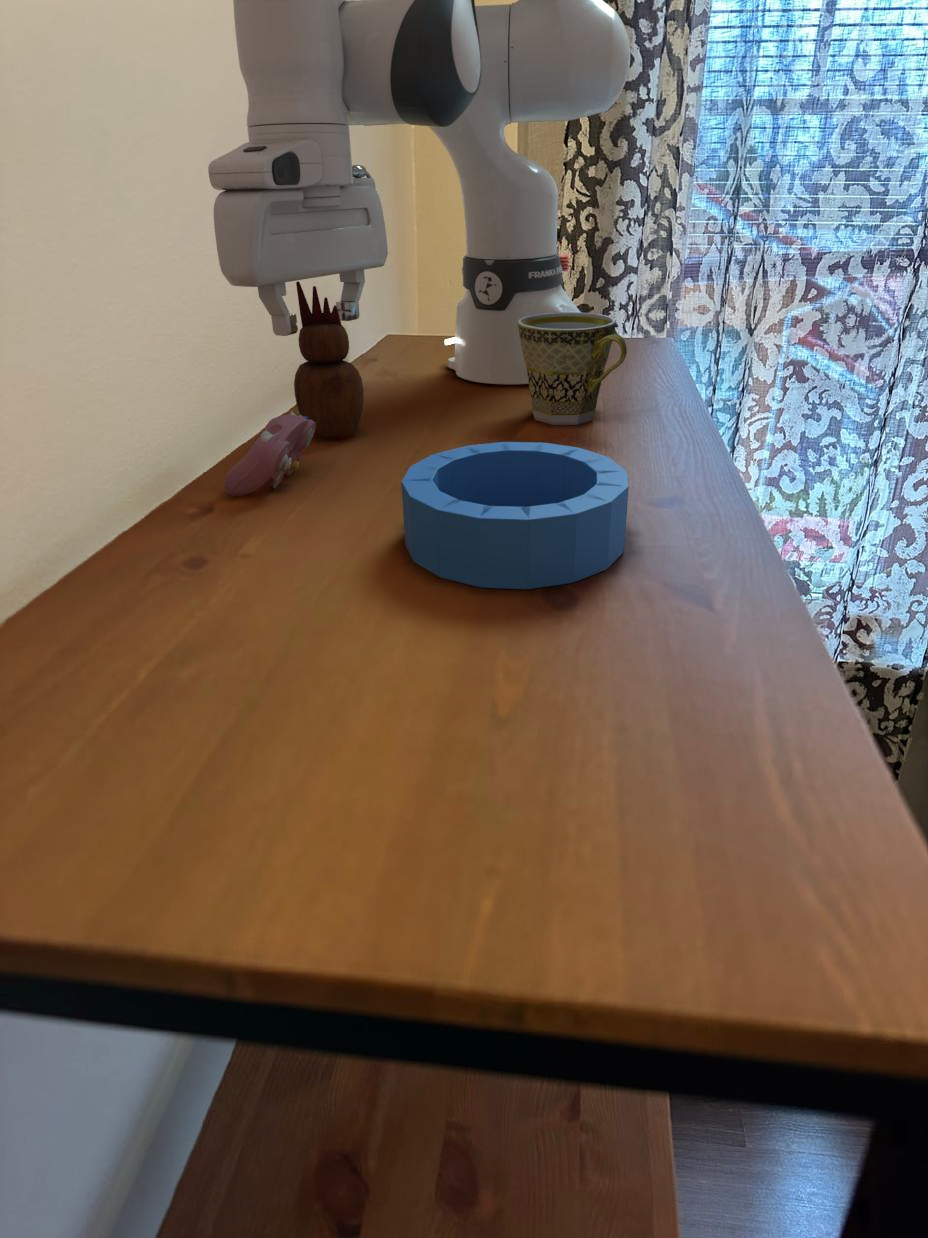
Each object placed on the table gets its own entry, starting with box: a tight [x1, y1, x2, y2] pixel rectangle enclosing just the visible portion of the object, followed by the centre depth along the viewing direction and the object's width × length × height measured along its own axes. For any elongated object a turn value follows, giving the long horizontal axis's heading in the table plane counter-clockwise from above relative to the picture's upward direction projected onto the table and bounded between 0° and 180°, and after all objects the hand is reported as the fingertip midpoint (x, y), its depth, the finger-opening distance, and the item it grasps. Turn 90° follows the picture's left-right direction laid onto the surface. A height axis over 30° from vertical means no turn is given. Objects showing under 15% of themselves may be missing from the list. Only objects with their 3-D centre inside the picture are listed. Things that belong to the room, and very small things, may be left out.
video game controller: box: [223, 411, 316, 497], centre depth 73 cm, size 10×5×7 cm, turn 168°
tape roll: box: [400, 441, 630, 590], centre depth 61 cm, size 16×16×5 cm
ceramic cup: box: [518, 311, 628, 426], centre depth 87 cm, size 13×10×10 cm
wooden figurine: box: [293, 280, 365, 441], centre depth 82 cm, size 7×6×15 cm
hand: (318, 326), depth 81 cm, fingers open, 8 cm apart
